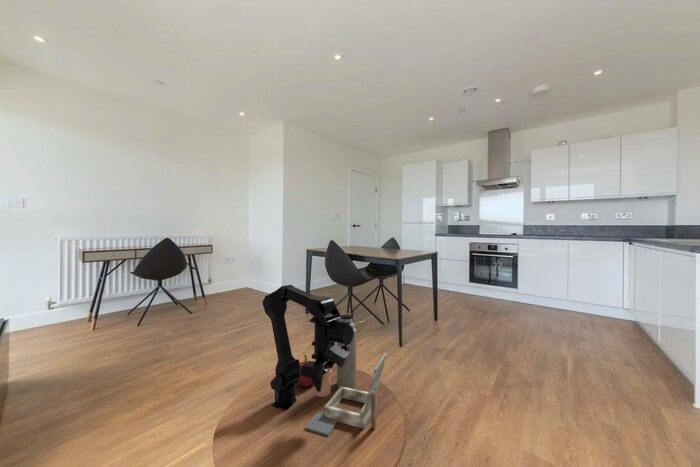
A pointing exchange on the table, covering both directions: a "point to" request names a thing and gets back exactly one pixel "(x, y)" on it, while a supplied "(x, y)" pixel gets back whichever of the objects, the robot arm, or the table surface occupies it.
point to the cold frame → (359, 396)
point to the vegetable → (302, 379)
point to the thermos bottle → (348, 361)
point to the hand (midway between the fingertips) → (322, 387)
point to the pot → (325, 383)
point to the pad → (321, 424)
